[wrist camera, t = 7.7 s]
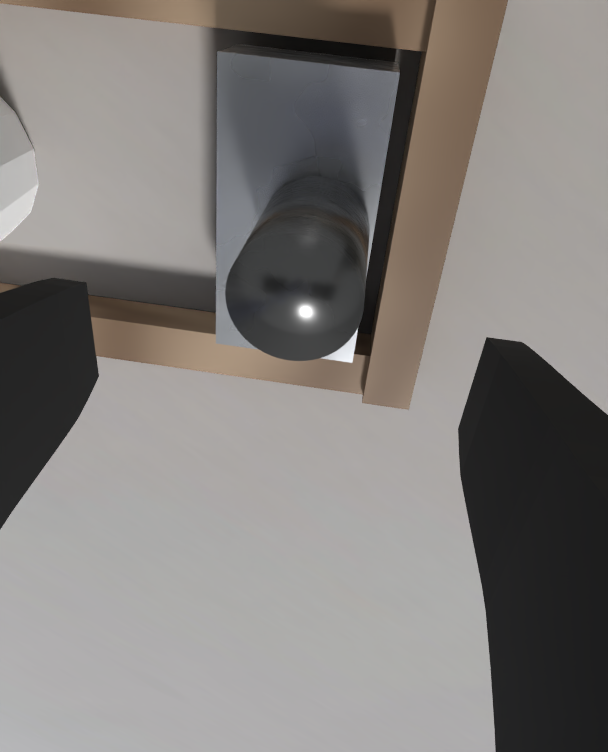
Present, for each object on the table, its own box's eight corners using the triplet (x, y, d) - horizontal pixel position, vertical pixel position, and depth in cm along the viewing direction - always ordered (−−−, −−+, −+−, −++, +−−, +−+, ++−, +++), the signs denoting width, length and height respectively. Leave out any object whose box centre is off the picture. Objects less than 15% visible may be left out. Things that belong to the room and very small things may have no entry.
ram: (232, 309, 20) (173, 429, 15) (238, 44, 16) (155, 72, 10) (355, 326, 20) (343, 455, 15) (398, 62, 16) (404, 102, 10)
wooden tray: (-154, 297, 23) (-276, 365, 18) (-314, -106, 16) (-564, -141, 12) (407, 377, 21) (411, 469, 17) (499, -18, 15) (542, -22, 10)
